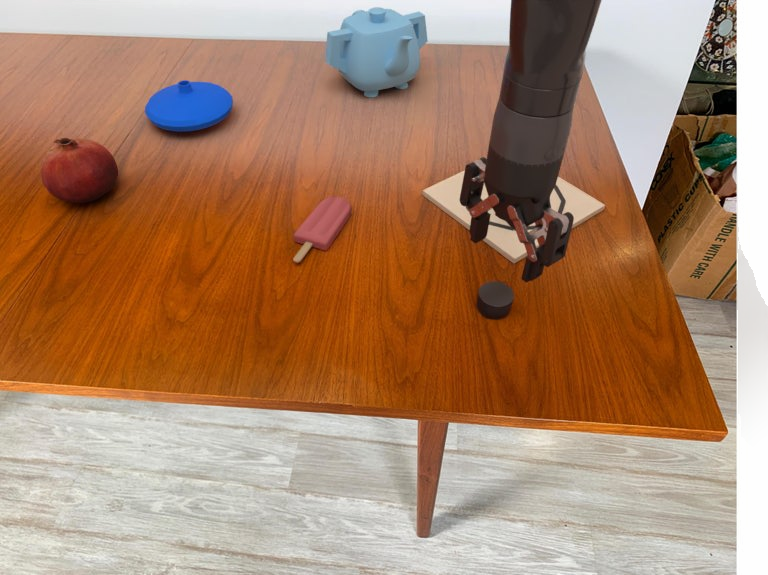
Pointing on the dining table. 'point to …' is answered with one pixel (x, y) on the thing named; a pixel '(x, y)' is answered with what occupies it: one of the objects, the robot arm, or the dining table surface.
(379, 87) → the teapot
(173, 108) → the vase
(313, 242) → the popsicle
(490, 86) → the dining table surface
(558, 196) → the board
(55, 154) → the fruit
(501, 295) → the dot right
